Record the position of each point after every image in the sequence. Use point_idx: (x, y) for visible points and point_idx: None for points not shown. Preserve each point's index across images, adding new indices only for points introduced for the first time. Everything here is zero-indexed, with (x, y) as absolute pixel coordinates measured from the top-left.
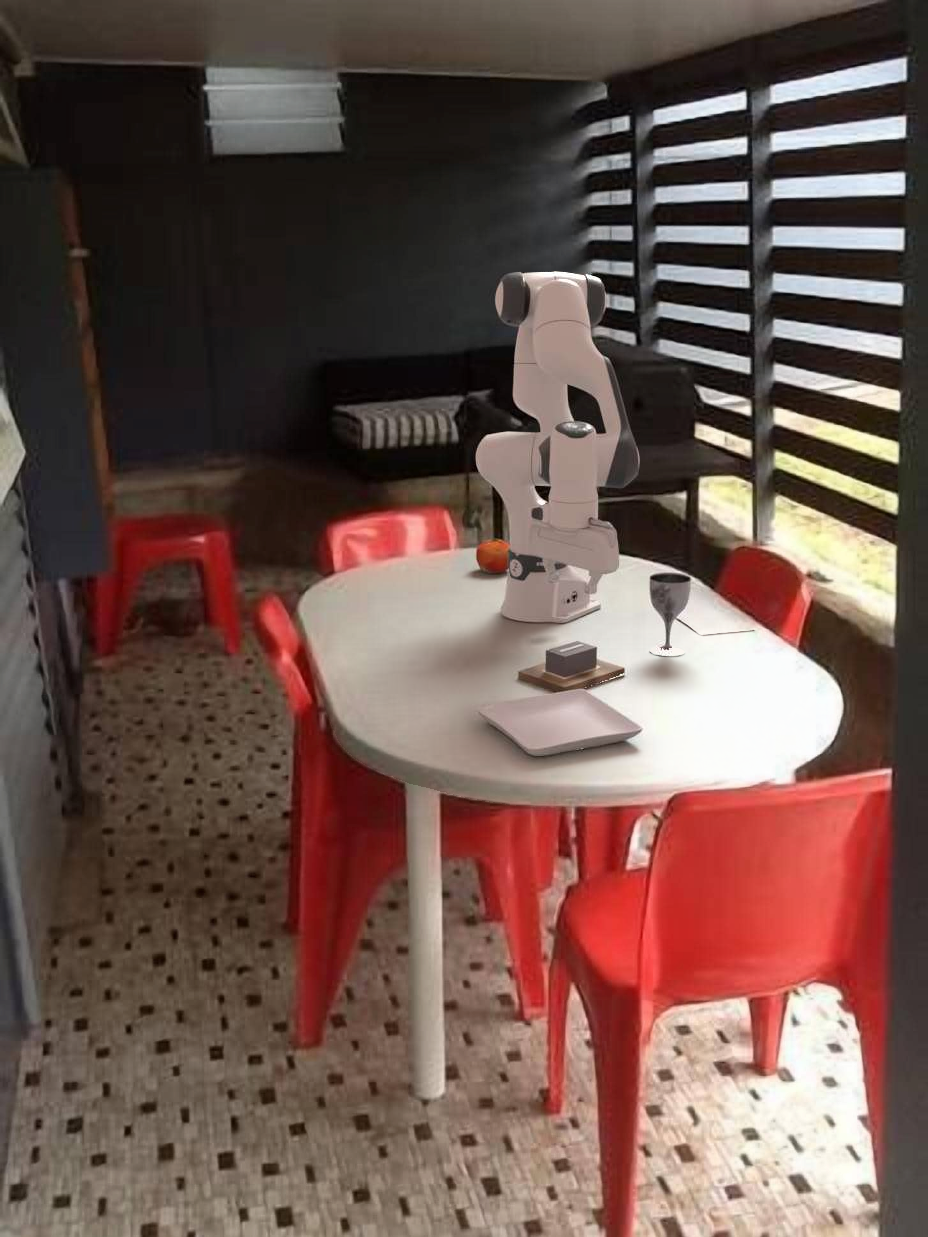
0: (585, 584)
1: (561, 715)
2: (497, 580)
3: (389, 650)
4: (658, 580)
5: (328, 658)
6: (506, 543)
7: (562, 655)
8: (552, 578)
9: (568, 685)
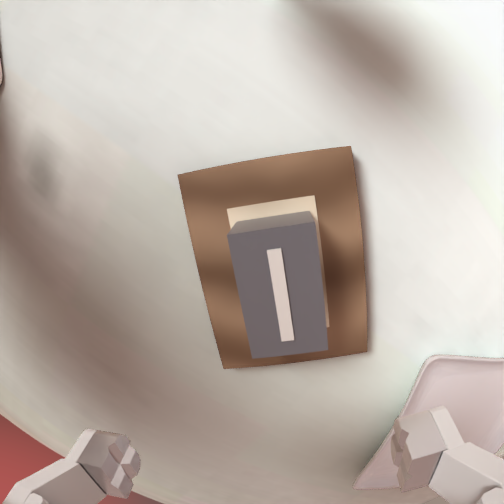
0: (408, 487)
1: (436, 401)
2: None
3: (37, 397)
4: None
5: (57, 449)
6: None
7: (315, 350)
8: (131, 482)
9: (364, 340)
